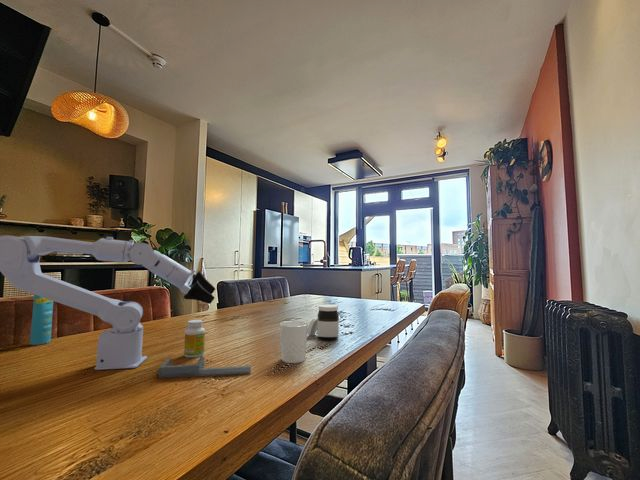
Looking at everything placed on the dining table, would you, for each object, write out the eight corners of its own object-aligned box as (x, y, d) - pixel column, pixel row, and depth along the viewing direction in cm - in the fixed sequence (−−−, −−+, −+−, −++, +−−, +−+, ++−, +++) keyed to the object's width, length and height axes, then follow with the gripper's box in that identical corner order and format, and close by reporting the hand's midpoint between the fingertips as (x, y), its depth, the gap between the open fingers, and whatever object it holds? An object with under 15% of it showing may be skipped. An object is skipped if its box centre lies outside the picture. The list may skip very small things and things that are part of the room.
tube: (41, 346, 92) (45, 283, 93) (22, 346, 91) (27, 283, 92) (56, 339, 99) (60, 281, 100) (39, 340, 98) (44, 281, 99)
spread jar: (339, 342, 101) (339, 308, 102) (306, 342, 101) (306, 307, 102) (337, 333, 113) (337, 303, 114) (307, 333, 113) (308, 302, 114)
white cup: (311, 357, 86) (312, 322, 86) (298, 366, 79) (299, 327, 79) (288, 353, 89) (289, 319, 90) (273, 361, 82) (274, 324, 82)
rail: (158, 378, 69) (158, 367, 69) (166, 368, 75) (167, 358, 76) (250, 373, 73) (250, 362, 73) (251, 363, 80) (251, 354, 80)
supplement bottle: (196, 358, 83) (198, 323, 83) (179, 357, 84) (181, 322, 85) (207, 352, 88) (209, 319, 89) (191, 351, 89) (193, 318, 90)
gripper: (176, 266, 77) (220, 293, 82) (183, 254, 91) (221, 277, 96) (159, 288, 77) (205, 314, 82) (169, 272, 91) (208, 295, 95)
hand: (213, 295), depth 89 cm, fingers open, 7 cm apart
